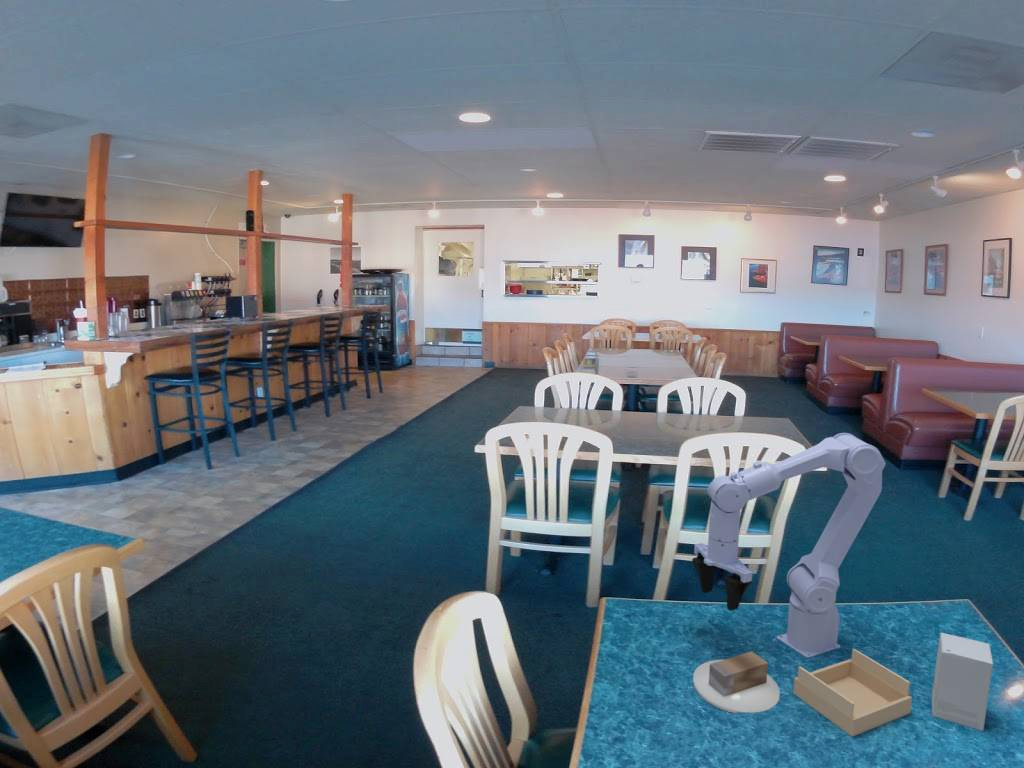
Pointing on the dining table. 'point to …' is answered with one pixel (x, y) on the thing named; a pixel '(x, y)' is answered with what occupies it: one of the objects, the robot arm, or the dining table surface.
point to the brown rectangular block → (738, 673)
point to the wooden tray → (855, 693)
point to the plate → (736, 694)
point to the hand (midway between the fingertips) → (719, 600)
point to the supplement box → (962, 680)
